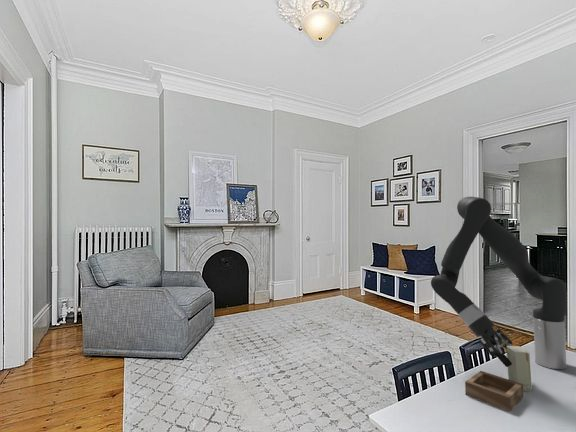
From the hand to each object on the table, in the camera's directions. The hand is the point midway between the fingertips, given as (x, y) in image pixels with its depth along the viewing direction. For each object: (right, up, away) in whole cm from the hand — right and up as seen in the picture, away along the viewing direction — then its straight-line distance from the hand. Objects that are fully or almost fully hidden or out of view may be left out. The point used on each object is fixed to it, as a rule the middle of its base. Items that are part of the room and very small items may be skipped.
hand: (514, 362), depth 105 cm
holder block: (-11, -7, -7) cm, 15 cm away
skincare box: (+1, -8, -1) cm, 8 cm away
